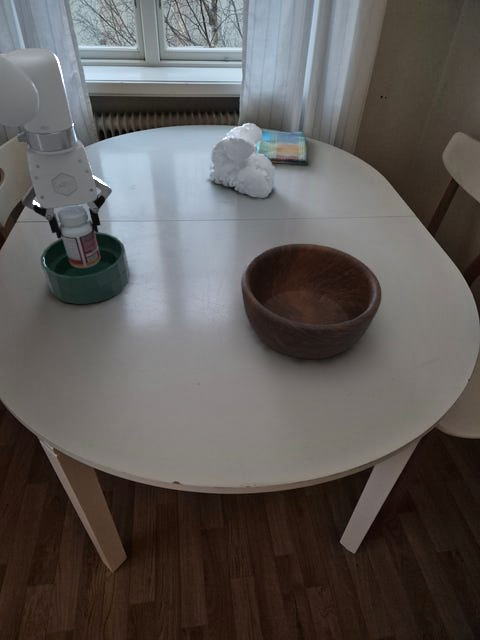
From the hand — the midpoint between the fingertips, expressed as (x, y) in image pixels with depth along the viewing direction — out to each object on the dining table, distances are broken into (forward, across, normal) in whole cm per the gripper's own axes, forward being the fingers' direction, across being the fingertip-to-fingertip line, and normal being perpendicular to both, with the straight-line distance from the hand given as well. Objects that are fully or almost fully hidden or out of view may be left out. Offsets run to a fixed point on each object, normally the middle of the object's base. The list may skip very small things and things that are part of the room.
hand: (77, 231), depth 83 cm
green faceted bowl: (+12, 0, 0) cm, 12 cm away
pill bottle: (+7, 0, 0) cm, 7 cm away
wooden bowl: (+12, +37, -27) cm, 47 cm away
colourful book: (+12, +70, +52) cm, 88 cm away
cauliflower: (+12, +47, +32) cm, 58 cm away
